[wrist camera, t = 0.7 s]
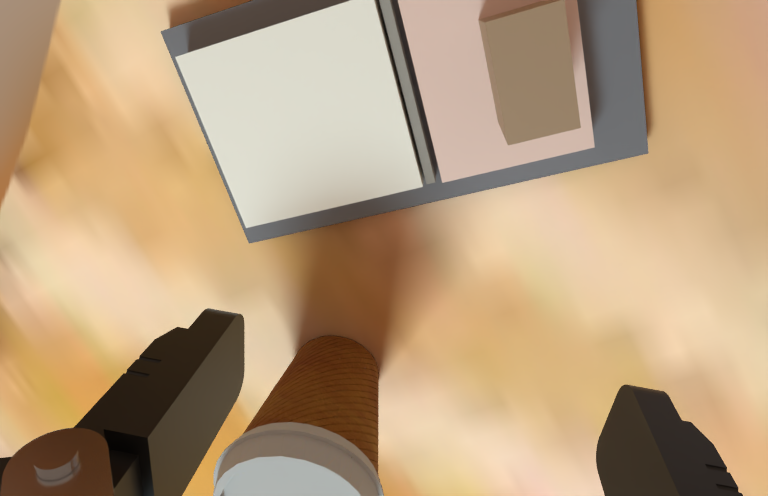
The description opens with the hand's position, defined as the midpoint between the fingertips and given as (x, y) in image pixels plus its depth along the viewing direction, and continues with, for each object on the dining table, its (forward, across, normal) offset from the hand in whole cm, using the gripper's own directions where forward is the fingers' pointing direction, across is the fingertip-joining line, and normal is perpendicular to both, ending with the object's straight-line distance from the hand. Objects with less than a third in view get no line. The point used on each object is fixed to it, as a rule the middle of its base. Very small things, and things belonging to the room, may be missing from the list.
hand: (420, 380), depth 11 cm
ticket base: (+21, +3, -3) cm, 21 cm away
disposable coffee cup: (+21, +5, +18) cm, 28 cm away
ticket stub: (+20, -2, -5) cm, 21 cm away
